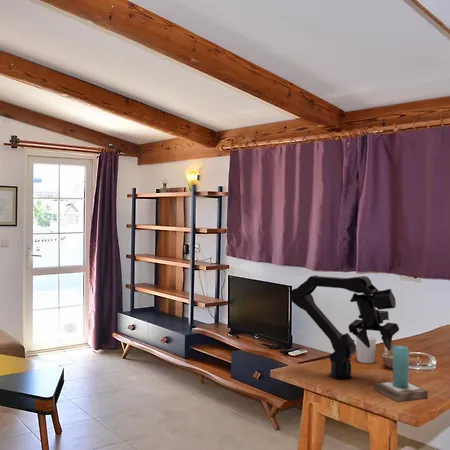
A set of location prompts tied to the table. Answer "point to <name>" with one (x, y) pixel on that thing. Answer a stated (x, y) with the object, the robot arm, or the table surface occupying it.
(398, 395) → the picture frame
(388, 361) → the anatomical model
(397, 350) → the teal cylinder
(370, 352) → the white cup
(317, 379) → the table surface
